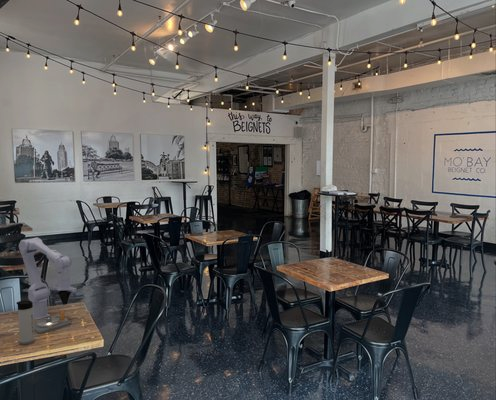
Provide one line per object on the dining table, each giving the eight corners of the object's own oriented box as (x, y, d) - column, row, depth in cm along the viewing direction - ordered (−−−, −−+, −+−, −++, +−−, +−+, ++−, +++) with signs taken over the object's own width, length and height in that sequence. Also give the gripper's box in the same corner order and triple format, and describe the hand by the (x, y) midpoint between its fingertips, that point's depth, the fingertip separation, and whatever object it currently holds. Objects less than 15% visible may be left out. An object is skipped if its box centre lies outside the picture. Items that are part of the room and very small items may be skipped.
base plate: (26, 326, 205) (26, 320, 205) (58, 317, 217) (57, 312, 217) (39, 334, 195) (39, 328, 194) (71, 324, 207) (71, 319, 207)
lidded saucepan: (35, 328, 199) (35, 318, 198) (39, 320, 209) (38, 311, 209) (65, 324, 203) (65, 314, 203) (67, 317, 214) (67, 307, 213)
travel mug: (16, 342, 186) (14, 301, 184) (31, 338, 191) (29, 297, 189) (21, 346, 182) (19, 304, 180) (36, 341, 186) (34, 300, 185)
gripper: (47, 280, 209) (48, 305, 210) (69, 282, 204) (70, 307, 205) (57, 276, 216) (58, 300, 217) (79, 278, 211) (80, 303, 212)
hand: (65, 304), depth 211 cm, fingers closed
